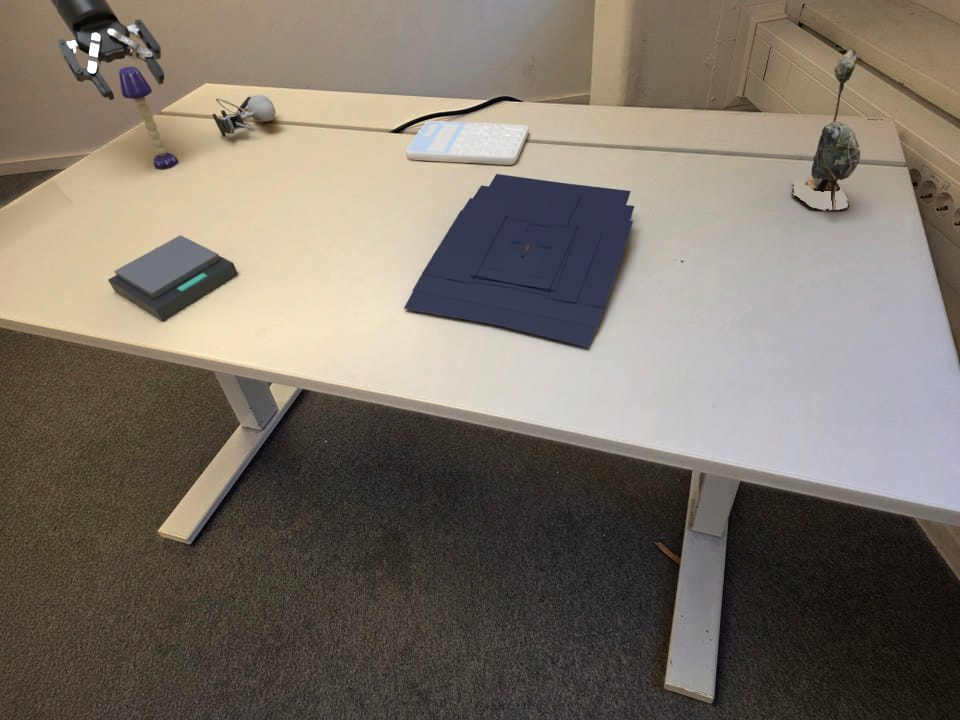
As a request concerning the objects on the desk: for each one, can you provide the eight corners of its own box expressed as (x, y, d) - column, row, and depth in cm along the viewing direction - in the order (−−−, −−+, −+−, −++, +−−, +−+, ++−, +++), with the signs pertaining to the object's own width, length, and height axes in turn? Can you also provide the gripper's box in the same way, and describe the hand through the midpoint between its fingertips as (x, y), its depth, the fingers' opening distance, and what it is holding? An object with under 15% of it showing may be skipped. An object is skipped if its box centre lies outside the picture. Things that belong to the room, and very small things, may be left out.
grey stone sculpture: (786, 216, 87) (834, 69, 73) (790, 178, 94) (835, 39, 80) (849, 224, 84) (911, 74, 70) (848, 186, 91) (905, 43, 77)
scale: (162, 321, 78) (152, 303, 76) (114, 291, 84) (103, 273, 82) (238, 274, 85) (231, 256, 83) (189, 249, 90) (181, 232, 88)
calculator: (515, 166, 103) (515, 156, 101) (404, 160, 107) (402, 150, 106) (530, 132, 112) (529, 122, 110) (427, 128, 116) (425, 118, 115)
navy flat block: (642, 208, 88) (644, 187, 85) (590, 363, 71) (591, 342, 68) (486, 187, 95) (484, 167, 93) (405, 322, 78) (399, 303, 76)
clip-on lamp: (218, 131, 129) (227, 143, 114) (203, 100, 125) (210, 109, 111) (271, 112, 131) (285, 121, 117) (257, 81, 128) (271, 87, 113)
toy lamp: (176, 155, 114) (135, 62, 103) (185, 163, 112) (145, 68, 100) (151, 164, 112) (107, 70, 101) (160, 172, 110) (116, 76, 98)
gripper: (124, 7, 107) (177, 89, 108) (38, 28, 100) (96, 114, 102) (120, -24, 100) (177, 63, 102) (28, -4, 94) (91, 89, 95)
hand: (136, 89), depth 102 cm, fingers open, 8 cm apart
